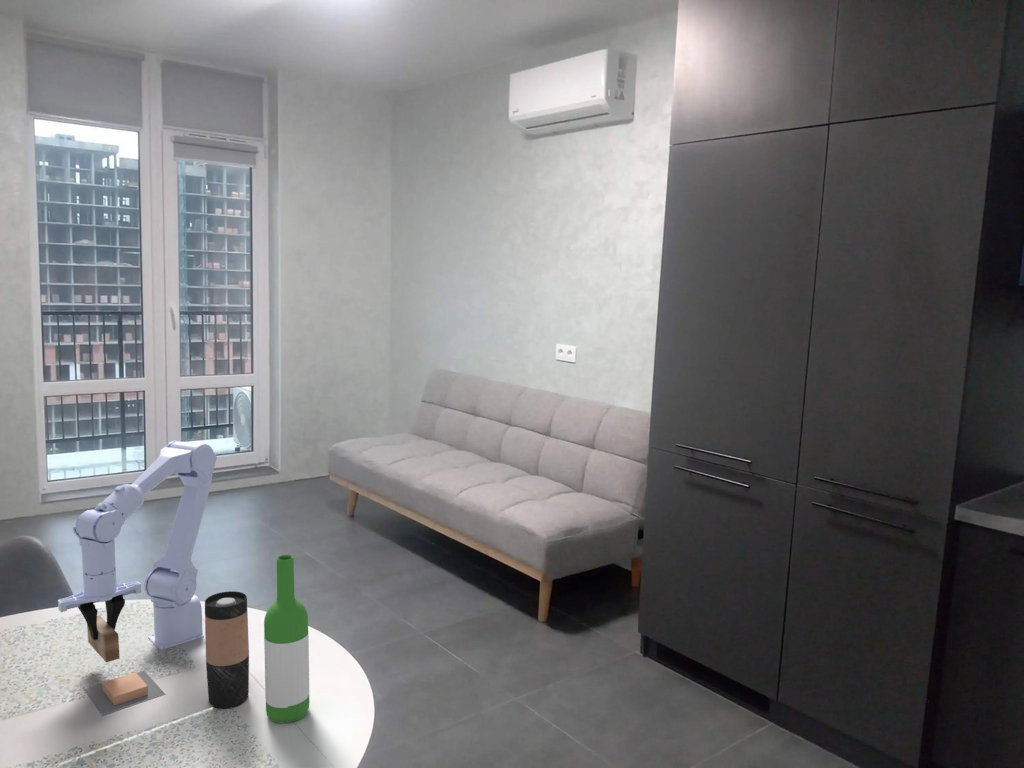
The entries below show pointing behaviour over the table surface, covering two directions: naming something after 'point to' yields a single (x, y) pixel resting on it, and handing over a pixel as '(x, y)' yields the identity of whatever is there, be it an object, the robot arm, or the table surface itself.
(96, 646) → the bar
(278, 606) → the wine bottle
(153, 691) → the mat
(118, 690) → the block
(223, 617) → the travel mug
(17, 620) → the table surface
